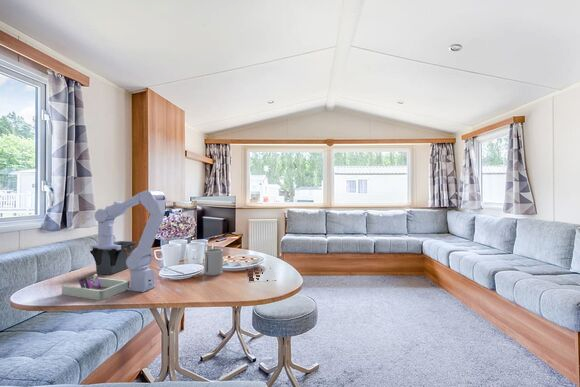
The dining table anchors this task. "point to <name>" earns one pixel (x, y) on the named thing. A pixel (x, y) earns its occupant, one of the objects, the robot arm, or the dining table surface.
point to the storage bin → (121, 260)
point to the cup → (213, 261)
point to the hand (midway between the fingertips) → (105, 265)
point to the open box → (113, 289)
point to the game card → (89, 282)
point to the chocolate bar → (250, 274)
